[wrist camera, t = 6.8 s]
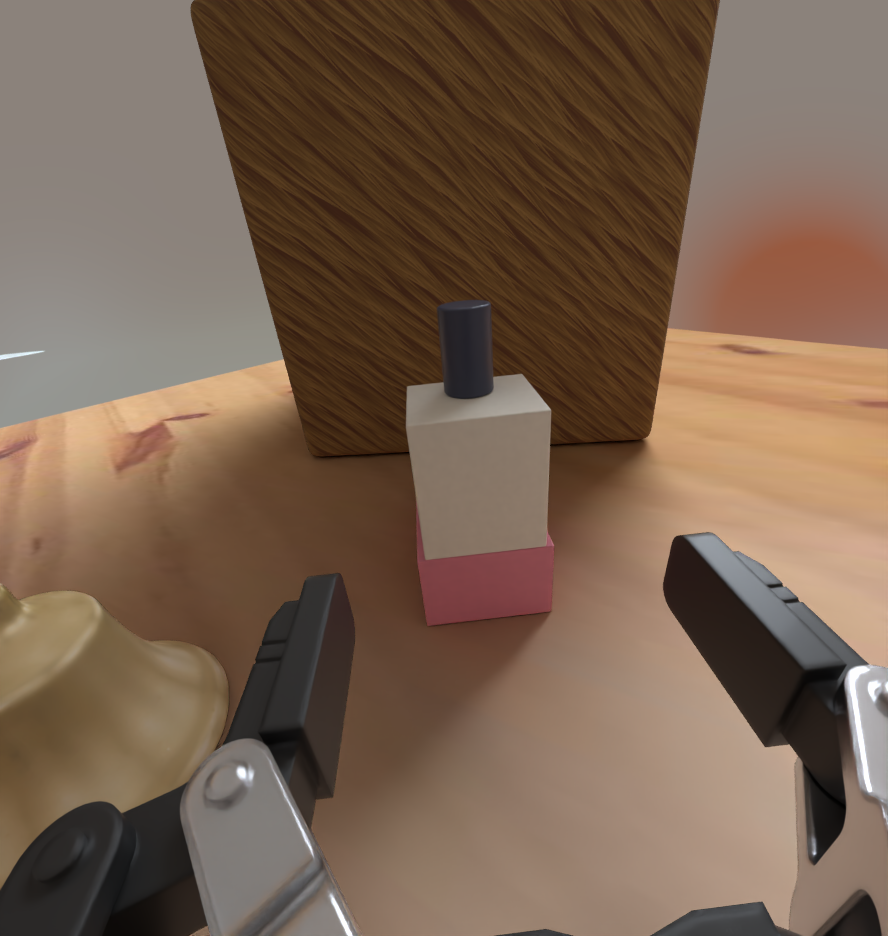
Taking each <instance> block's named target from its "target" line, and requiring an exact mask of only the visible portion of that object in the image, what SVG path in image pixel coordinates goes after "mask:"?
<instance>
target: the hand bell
mask: <svg viewBox="0 0 888 936" xmlns="http://www.w3.org/2000/svg"><path fill="white" fill-rule="evenodd" d="M228 707H229V688H228V680H227V677H226V673H225V671H224V668H223V667H222V666H221V664H220V662H219V661H218V660H217V659H216V658H215V656H213V655H212V654H211V653H209V652H208V651H207V650H205V649H203V648H201V647H198V646H196V645H193V644H189V643H186V642H182V641H172V640H157V641H147V640H145V639H142V638H140V637H138V636H137V635H135V634H134V633H132V632H131V631H130V630H128V629H127V628H126V627H125V626H123V625H122V624H121V623H120V622H118V621H117V620H116V619H115V618H114V617H113V616H112V615H111V614H110V613H109V612H108V611H107V610H106V609H105V608H104V607H103V606H102V605H101V604H100V603H99V602H98V601H97V600H96V599H95V598H94V597H92V596H90V595H88V594H85V593H82V592H78V591H69V590H67V591H52V592H47V593H42V594H37V595H34V596H30V597H26V598H23V599H20V600H17V599H16V598H15V597H14V596H13V595H12V594H11V592H10V591H9V590H8V589H7V588H6V587H5V586H4V585H2V584H0V890H1V888H2V886H3V884H4V883H5V881H6V879H7V878H8V876H9V874H10V873H11V871H12V869H13V867H14V866H15V864H16V863H17V861H18V860H19V858H20V857H21V855H22V854H23V853H24V852H25V850H26V849H27V848H28V846H29V845H30V844H31V843H32V842H33V841H34V840H35V839H36V838H37V836H38V835H40V834H41V833H42V832H43V831H44V830H45V829H46V828H47V827H48V826H49V825H51V824H52V823H53V822H54V821H56V820H57V819H58V818H60V817H61V816H63V815H64V814H66V813H67V812H69V811H71V810H73V809H75V808H77V807H79V806H81V805H84V804H87V803H91V802H97V801H103V802H108V803H111V804H113V805H114V806H115V807H116V808H117V809H118V810H119V811H120V812H121V813H123V812H126V811H128V810H130V809H132V808H134V807H137V806H139V805H141V804H143V803H145V802H148V801H150V800H152V799H154V798H156V797H159V796H161V795H163V794H165V793H167V792H170V791H172V790H174V789H176V788H178V787H180V786H182V785H183V784H185V783H186V782H188V781H189V779H190V777H191V776H192V774H193V773H194V772H195V770H196V769H197V768H198V766H199V765H200V764H201V763H202V762H203V761H204V760H205V759H206V758H207V757H208V756H209V755H210V754H212V753H213V752H214V751H215V749H216V746H217V744H218V742H219V740H220V738H221V735H222V732H223V730H224V727H225V722H226V718H227V713H228Z"/></svg>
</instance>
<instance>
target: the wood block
mask: <svg viewBox="0 0 888 936" xmlns="http://www.w3.org/2000/svg"><path fill="white" fill-rule="evenodd" d="M719 3H720V0H194V1H193V2H192V4H191V17H192V22H193V26H194V30H195V34H196V38H197V41H198V45H199V49H200V52H201V56H202V59H203V63H204V67H205V70H206V74H207V78H208V82H209V85H210V89H211V93H212V96H213V100H214V104H215V107H216V111H217V115H218V118H219V122H220V125H221V130H222V133H223V137H224V140H225V144H226V148H227V151H228V155H229V159H230V162H231V166H232V170H233V174H234V177H235V181H236V185H237V188H238V192H239V196H240V199H241V203H242V207H243V210H244V214H245V218H246V222H247V225H248V229H249V233H250V236H251V240H252V244H253V247H254V251H255V254H256V258H257V262H258V265H259V269H260V273H261V277H262V280H263V284H264V288H265V291H266V295H267V299H268V302H269V306H270V310H271V314H272V317H273V321H274V325H275V328H276V332H277V336H278V339H279V343H280V346H281V350H282V354H283V357H284V361H285V365H286V369H287V372H288V376H289V380H290V383H291V387H292V391H293V394H294V398H295V402H296V406H297V409H298V413H299V417H300V420H301V424H302V428H303V431H304V435H305V439H306V442H307V446H308V449H309V451H310V453H311V454H312V455H314V456H338V455H357V454H376V453H395V452H409V445H408V438H407V431H406V402H407V387H408V386H414V385H423V384H433V383H442V382H443V372H442V361H441V350H440V339H439V329H438V318H437V307H438V306H440V305H442V304H445V303H449V302H455V301H464V300H485V301H488V302H490V304H491V322H492V352H493V377H497V376H507V375H516V374H523V376H524V377H525V378H526V379H527V381H528V382H529V383H530V384H531V386H532V387H533V388H534V389H535V391H536V392H537V393H538V394H539V396H540V397H541V398H542V399H543V401H544V402H545V403H546V404H547V406H548V407H549V408H550V409H551V432H550V444H564V443H583V442H602V441H621V440H638V439H643V438H646V437H647V436H648V435H649V434H650V431H651V427H652V421H653V415H654V409H655V402H656V396H657V390H658V384H659V378H660V371H661V365H662V359H663V353H664V346H665V340H666V334H667V328H668V321H669V315H670V309H671V302H672V296H673V290H674V284H675V277H676V271H677V264H678V258H679V253H680V246H681V239H682V234H683V227H684V221H685V215H686V209H687V203H688V196H689V190H690V184H691V178H692V171H693V165H694V159H695V153H696V146H697V140H698V134H699V128H700V121H701V115H702V109H703V103H704V96H705V90H706V84H707V78H708V71H709V64H710V59H711V53H712V46H713V40H714V34H715V28H716V21H717V15H718V9H719Z"/></svg>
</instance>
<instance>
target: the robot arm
mask: <svg viewBox="0 0 888 936" xmlns="http://www.w3.org/2000/svg"><path fill="white" fill-rule="evenodd" d="M663 591H664V596H665V599H666V602H667V604H668V606H669V608H670V610H671V611H672V613H673V614H674V616H675V617H676V619H677V620H678V622H679V623H680V624H681V626H682V627H683V629H684V630H685V632H686V633H687V635H688V636H689V638H690V639H691V640H692V642H693V643H694V645H695V646H696V648H697V649H698V651H699V652H700V653H701V655H702V656H703V658H704V659H705V661H706V662H707V664H708V665H709V666H710V668H711V669H712V671H713V672H714V674H715V675H716V677H717V678H718V680H719V681H720V682H721V684H722V685H723V687H724V688H725V690H726V691H727V693H728V694H729V695H730V697H731V698H732V700H733V701H734V703H735V704H736V706H737V707H738V709H739V710H740V711H741V713H742V714H743V716H744V717H745V719H746V720H747V722H748V723H749V724H750V726H751V727H752V729H753V730H754V732H755V733H756V735H757V736H758V738H759V739H760V740H761V742H762V743H763V745H764V746H765V747H771V746H779V745H788V744H790V746H791V747H792V748H793V750H794V751H795V752H796V754H797V755H798V757H797V759H796V762H795V796H796V824H797V852H798V873H797V881H796V886H795V889H794V892H793V896H792V901H791V907H790V917H789V930H786V929H784V928H781V927H778V926H775V925H774V923H773V921H772V919H771V917H770V915H769V913H768V911H767V909H766V908H765V906H764V904H763V902H756V903H748V904H740V905H732V906H724V907H716V908H708V909H701V910H693V911H691V912H689V913H687V914H686V915H684V916H682V917H681V918H679V919H677V920H676V921H674V922H672V923H671V924H669V925H667V926H666V927H664V928H662V929H661V930H659V931H657V932H656V933H654V934H652V935H651V936H888V668H886V667H881V666H876V665H869V664H868V663H867V662H866V661H865V660H864V659H863V658H861V657H860V656H859V655H858V654H857V653H856V652H855V651H854V650H853V649H852V648H851V647H850V646H849V645H848V644H847V643H845V642H844V641H843V640H842V639H841V638H840V637H839V636H838V635H837V634H836V633H835V632H834V631H833V630H832V629H831V628H830V627H828V626H827V625H826V624H825V623H824V622H823V621H822V620H821V619H820V618H819V617H818V616H817V615H816V614H815V613H814V612H813V611H811V610H810V609H809V608H808V607H807V606H806V605H805V604H804V603H803V602H799V600H798V597H797V596H795V595H794V594H793V593H792V592H791V591H790V590H789V589H788V588H787V587H783V585H782V582H781V581H780V580H778V579H777V578H776V577H775V576H774V575H773V574H772V573H771V572H770V571H769V570H768V569H767V568H766V567H765V566H764V565H762V564H760V563H758V562H757V561H755V560H753V559H751V558H750V557H748V556H746V555H744V554H742V553H741V552H739V551H737V552H733V551H732V550H731V549H730V548H729V547H728V546H727V545H726V544H725V543H724V542H723V541H722V540H721V539H720V538H719V537H717V536H716V535H715V534H713V533H711V532H706V533H697V534H688V535H680V536H676V537H675V538H674V539H673V542H672V545H671V550H670V555H669V559H668V564H667V568H666V573H665V577H664V582H663ZM354 644H355V626H354V619H353V615H352V611H351V607H350V604H349V600H348V596H347V593H346V589H345V585H344V582H343V578H342V576H341V574H340V573H335V574H326V575H317V576H309V577H307V578H306V580H305V582H304V585H303V589H302V592H301V595H300V598H299V600H297V601H289V602H285V603H284V604H283V605H282V606H281V608H280V609H279V610H278V611H277V612H276V614H275V615H274V616H273V617H272V619H271V620H270V621H269V624H268V627H267V629H266V632H265V635H264V637H263V640H262V646H260V648H259V651H258V654H257V656H256V659H255V660H256V663H255V664H254V665H253V667H252V670H251V673H250V675H249V678H248V681H247V684H246V686H245V689H244V692H243V694H242V697H241V700H240V703H239V705H238V708H237V711H236V713H235V716H234V719H233V722H232V724H231V727H230V730H229V732H228V735H227V737H226V739H225V742H224V743H223V745H222V747H220V748H219V749H217V750H215V751H214V752H213V753H212V754H210V755H209V756H208V757H207V758H206V759H205V760H204V761H203V762H202V763H201V764H200V765H199V766H198V768H197V769H196V770H195V772H194V773H193V774H192V776H191V777H190V779H189V781H188V782H186V783H185V784H183V785H182V786H180V787H178V788H176V789H174V790H172V791H170V792H167V793H165V794H163V795H161V796H159V797H156V798H154V799H152V800H150V801H148V802H145V803H143V804H141V805H139V806H137V807H134V808H132V809H130V810H128V811H126V812H123V813H121V812H120V811H119V810H118V809H117V808H116V807H115V806H114V805H113V804H111V803H108V802H103V801H97V802H91V803H87V804H84V805H81V806H79V807H77V808H75V809H73V810H71V811H69V812H67V813H66V814H64V815H63V816H61V817H60V818H58V819H57V820H56V821H54V822H53V823H52V824H51V825H49V826H48V827H47V828H46V829H45V830H44V831H43V832H42V833H41V834H40V835H38V836H37V838H36V839H35V840H34V841H33V842H32V843H31V844H30V845H29V846H28V848H27V849H26V850H25V852H24V853H23V854H22V855H21V857H20V858H19V860H18V861H17V863H16V864H15V866H14V867H13V869H12V871H11V873H10V874H9V876H8V878H7V879H6V881H5V883H4V884H3V886H2V888H1V890H0V936H189V935H190V934H192V933H194V932H196V931H198V930H199V929H201V928H203V927H205V926H207V925H208V928H209V932H210V936H363V934H362V932H361V930H360V928H359V926H358V924H357V922H356V920H355V918H354V916H353V914H352V912H351V910H350V908H349V906H348V904H347V902H346V900H345V898H344V895H343V893H342V891H341V889H340V887H339V885H338V883H337V881H336V879H335V877H334V875H333V873H332V871H331V869H330V867H329V865H328V863H327V861H326V859H325V857H324V854H323V852H322V850H321V848H320V846H319V844H318V842H317V840H316V838H315V836H314V834H313V832H312V830H311V825H312V819H313V813H314V807H315V801H316V799H324V798H332V797H333V794H334V787H335V780H336V773H337V766H338V759H339V751H340V744H341V737H342V730H343V723H344V716H345V709H346V701H347V694H348V687H349V680H350V673H351V666H352V659H353V651H354ZM496 936H572V935H568V934H564V933H560V932H556V931H552V930H547V929H543V930H536V931H528V932H520V933H512V934H504V935H496Z"/></svg>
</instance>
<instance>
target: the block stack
mask: <svg viewBox="0 0 888 936" xmlns="http://www.w3.org/2000/svg"><path fill="white" fill-rule="evenodd" d="M437 318H438V329H439V339H440V350H441V361H442V372H443V382H442V383H433V384H423V385H414V386H408V387H407V402H406V431H407V438H408V445H409V452H410V459H411V466H412V473H413V480H414V487H415V494H416V526H417V564H418V570H419V577H420V583H421V590H422V596H423V602H424V609H425V615H426V622H427V625H428V626H431V625H440V624H448V623H457V622H465V621H474V620H482V619H491V618H499V617H508V616H516V615H525V614H533V613H542V612H550V611H551V606H552V585H553V564H554V544H553V542H552V540H551V538H550V536H549V534H548V531H547V516H548V488H549V460H550V432H551V409H550V408H549V407H548V406H547V404H546V403H545V402H544V401H543V399H542V398H541V397H540V396H539V394H538V393H537V392H536V391H535V389H534V388H533V387H532V386H531V384H530V383H529V382H528V381H527V379H526V378H525V377H524V376H523V374H516V375H507V376H497V377H493V352H492V322H491V304H490V302H488V301H485V300H464V301H455V302H449V303H445V304H442V305H440V306H438V307H437Z"/></svg>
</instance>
